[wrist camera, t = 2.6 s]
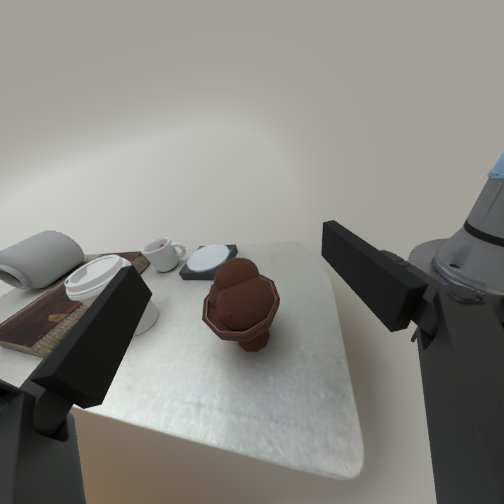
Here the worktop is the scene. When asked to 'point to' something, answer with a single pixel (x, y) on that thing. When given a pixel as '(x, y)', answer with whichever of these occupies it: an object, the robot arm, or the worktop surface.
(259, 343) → the ice cream bowl
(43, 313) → the hardback book
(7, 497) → the robot arm
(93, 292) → the coffee cup
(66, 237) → the jar
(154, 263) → the cup
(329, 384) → the worktop surface
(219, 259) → the scale
